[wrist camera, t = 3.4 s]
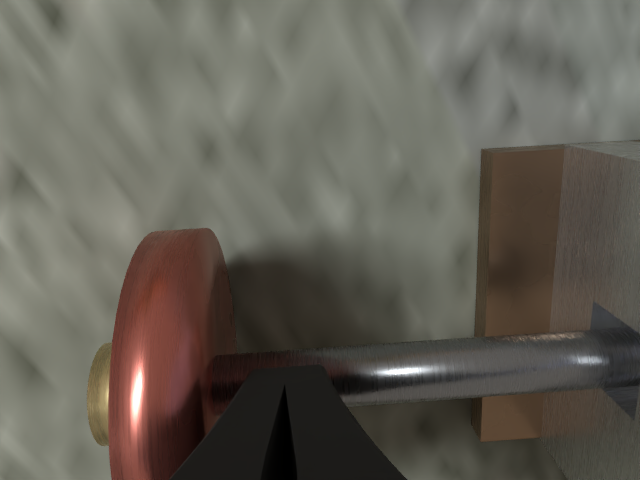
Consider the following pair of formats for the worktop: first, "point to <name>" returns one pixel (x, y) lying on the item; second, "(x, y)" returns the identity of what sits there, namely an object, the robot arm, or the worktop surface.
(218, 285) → the red wheel with axle
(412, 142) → the worktop surface
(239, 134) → the worktop surface
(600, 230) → the eye bracket
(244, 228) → the worktop surface
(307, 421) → the robot arm
